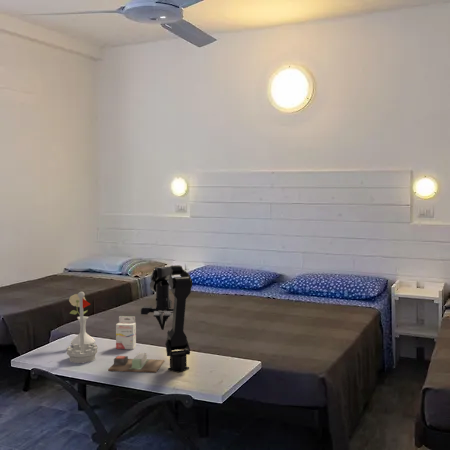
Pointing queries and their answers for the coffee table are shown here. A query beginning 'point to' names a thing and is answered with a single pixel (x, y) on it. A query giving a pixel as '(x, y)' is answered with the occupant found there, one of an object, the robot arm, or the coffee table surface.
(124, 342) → the ink cartridge box
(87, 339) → the flower in vase
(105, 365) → the coffee table surface
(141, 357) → the block
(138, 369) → the brown control panel
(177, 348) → the robot arm
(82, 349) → the flag stand
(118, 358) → the button
